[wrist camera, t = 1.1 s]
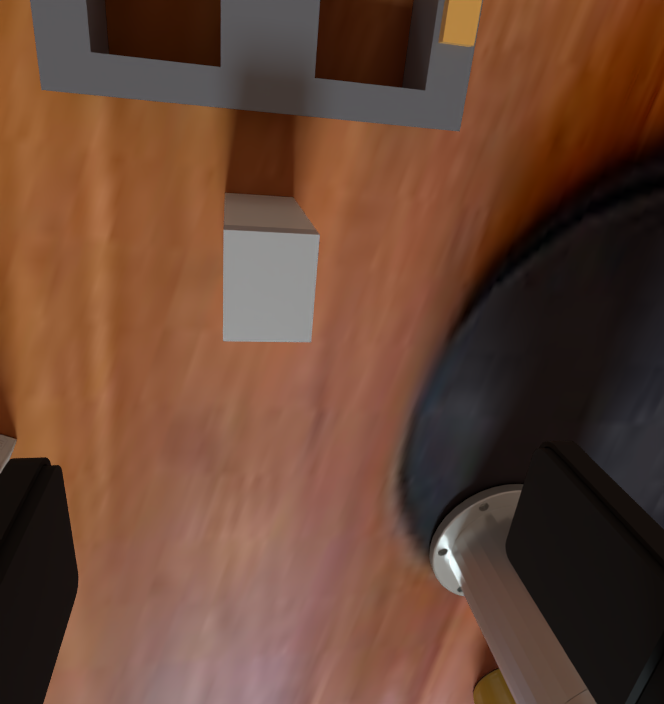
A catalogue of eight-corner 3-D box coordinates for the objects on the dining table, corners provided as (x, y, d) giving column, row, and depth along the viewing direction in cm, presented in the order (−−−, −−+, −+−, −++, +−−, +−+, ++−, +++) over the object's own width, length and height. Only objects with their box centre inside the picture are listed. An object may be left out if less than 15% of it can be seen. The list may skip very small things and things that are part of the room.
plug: (293, 197, 31) (319, 234, 22) (288, 278, 33) (310, 342, 24) (225, 192, 30) (223, 229, 21) (224, 275, 32) (223, 341, 23)
